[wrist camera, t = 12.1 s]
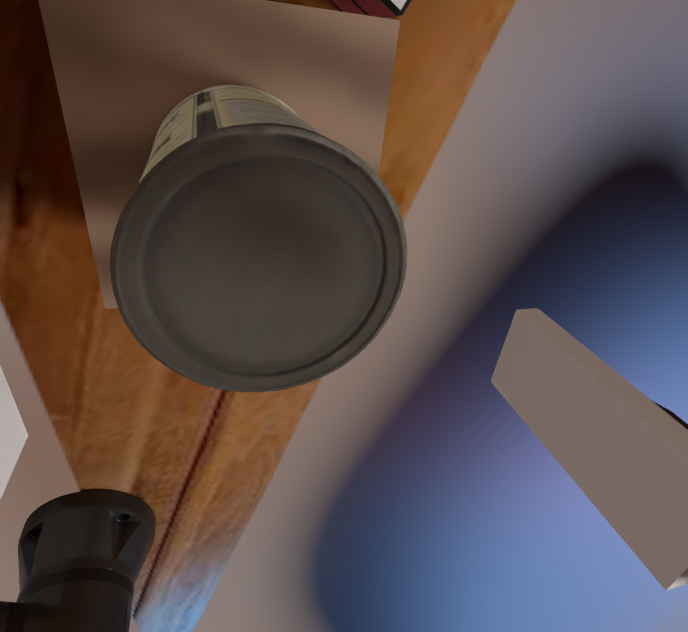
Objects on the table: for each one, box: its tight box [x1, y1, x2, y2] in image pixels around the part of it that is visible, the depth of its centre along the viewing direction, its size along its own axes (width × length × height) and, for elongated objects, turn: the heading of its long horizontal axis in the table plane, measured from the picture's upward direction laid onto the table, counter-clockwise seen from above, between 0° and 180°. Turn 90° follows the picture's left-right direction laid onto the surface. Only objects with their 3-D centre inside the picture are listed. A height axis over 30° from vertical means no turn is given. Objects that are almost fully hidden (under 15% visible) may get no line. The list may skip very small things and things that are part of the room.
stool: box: [38, 0, 400, 309], centre depth 31 cm, size 18×18×12 cm
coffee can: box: [110, 85, 407, 392], centre depth 21 cm, size 10×10×14 cm
